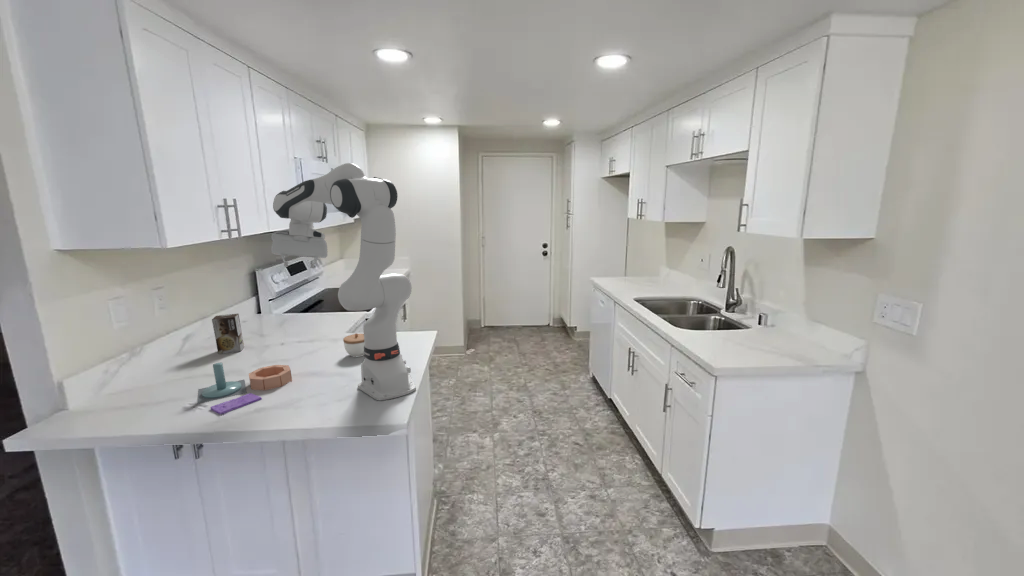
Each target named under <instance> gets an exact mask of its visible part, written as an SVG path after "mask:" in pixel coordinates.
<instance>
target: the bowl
mask: <svg viewBox="0 0 1024 576" xmlns="http://www.w3.org/2000/svg"><path fill="white" fill-rule="evenodd" d="M248 378H249V384H250V389H251V390H254V391H255V390H256V391H269V390H272V389H276V388H281V387H283V386H285V385H286V384H288V383H292V382H293V377H292V371H291V368H290V366H289V365H287V364H273V365H268V366H263V367H260V368H257V369H255V370H253V371H251V372H250V373H248Z"/></svg>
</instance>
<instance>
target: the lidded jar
mask: <svg viewBox="0 0 1024 576" xmlns="http://www.w3.org/2000/svg"><path fill="white" fill-rule="evenodd" d="M342 341H343V346H344V349H345V352H346V353H347V354H348V355H350V357H352V356H354V357H353V358H357V357H356V356H361V357H363V356H362V355H364V346H365V342H364V333H354V334H350V335H347V336H344V338H343V339H342Z"/></svg>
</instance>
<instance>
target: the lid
mask: <svg viewBox="0 0 1024 576" xmlns="http://www.w3.org/2000/svg"><path fill="white" fill-rule="evenodd" d="M212 368H213V369H212V370H213V373H214V381H215V384H213V385H212V384H211V385H210V386H207V388H206V387H205V388H206V389H204V390H203V391H202V396H203V397H204V398H220V397H224V396H228V395H231V394H233V393H236V392H237V391H239V390H240V389H241V388H242V386H241V383H240V382H236V381H237V380H235V381H234V380H231V381H226V377H225V370H224V365H223V362H215V363H214V364H212Z"/></svg>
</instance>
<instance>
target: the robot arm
mask: <svg viewBox="0 0 1024 576" xmlns="http://www.w3.org/2000/svg"><path fill="white" fill-rule="evenodd" d="M273 198H274V199H273V204H272V209H273V211H274V212H275V214H276V215H277V216H278V217H279V218H281V219H286V220H287V219H290V220H289V224H288V225H289V226H288V231H280V230H275V231H274V232H272V233H271V237H270V238H271V239H270V240H271V241H272V243H271V250H270V251H271V252H270V253H272V254H273V255H279V256H280V257H281V260H282V261H283V267H284V268H285V267H286V268H288V267H289V261H286V259H285V258H286V256H289V257H290V256H291V257H306V258H313V260H314V261H313V263H310V264H309V265H310V269H315V264H316V263H317V262H318V260H319V258H320V259H326V258H327V257H328V244H327V240H325V239H326V235H325V233H323V232H322V231H319V230H316V229H315V228H314V223H316V224H317V223H319V224H320V223H322V222H323V221H324V220H325V219H326V218H327V214H328V212H327V211H328V208H327V205H333V207H334V208H335V209H336V210H338V211H339V212H340V213H343V214H345V215H347V216H348V217H349V218H351V219H353V218H355V217H356V216H358V218H359V220H360V224H361V228H360V247H359V248H360V249H359V258H358V262H357V265H356V266H355V268H354V270H353V272H352V273H351V275H350V276H349V277H348V278H347V279H346V280H344V282H342V283H341V285H339V288H338V292H337V298H338V299H337V300H338V302H339V305H341V306H342V307H343V308H344V310H346V311H353V312H355V311H358V312H359V311H360V312H361V311H367V310H371V309H375V310H374V312H373V314H372V315H371V316H370V317H369V318H368V319H367V320H366V321H365V322H364V324H363V327H362V329H363V330H362V331H363V334H364V342H365V346H364V356H363V357H364V360H363V362H361V363H360V369H361V371H360V372H361V382H360V383H358V384H357V389H358V390H360V391H362V392H363V393H365V394H367V395H368V396H370V397H371V398H373V399H374V400H376V401H385V400H390V399H392V400H393V399H396V398H398V397H403V396H405V395H408V394H409V395H410V394H411V393H413V392H415V391H416V390H417V386H416V384H415V382H414V380H413V377H412V376H411V373H412V371H411V366H406V364H407V361H406V360H404V359H403V355H402V354H401V351H400V345H399V342H398V337H397V321H398V317H399V314H400V310H401V309H402V307H403V305H404V304H405V303H406V301H408V299H410V296H411V294H412V288H413V287H412V283H411V281H410V279H409V277H407V276H406V275H405V274H403V273H385V274H383V273H384V272H385V271H386V270H387V269H389V268H390V267H391V266H392V265H393V264H394V261H395V258H396V257H395V256H396V255H395V254H396V235H397V233H396V232H397V231H396V228H397V227H396V220H395V214H394V212H393V210H392V209H393V208H394V207H395V206H396V204H397V201H398V190H397V188H396V186H395V184H394V183H393V182H392V181H390V180H388V179H385V178H381V177H376V176H374V177H366V176H365V173H364V171H363V170H362V168H361V167H360V166H358V165H357V164H355V163H353V162H347V163H343V164H340V165H338V166H336V167H335V168H333V169H331V170H330V171H329V172H328V173H326V174H324V175H321V176H319V177H316V178H312V179H307V180H305V181H302V182H300V183H299V184H297V185H295V186H293V187H291V188H290V189H288V190H287V189H286V190H282V191H280V192H278V193H277V194H276V195H275V197H273ZM326 204H327V205H326Z"/></svg>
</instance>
